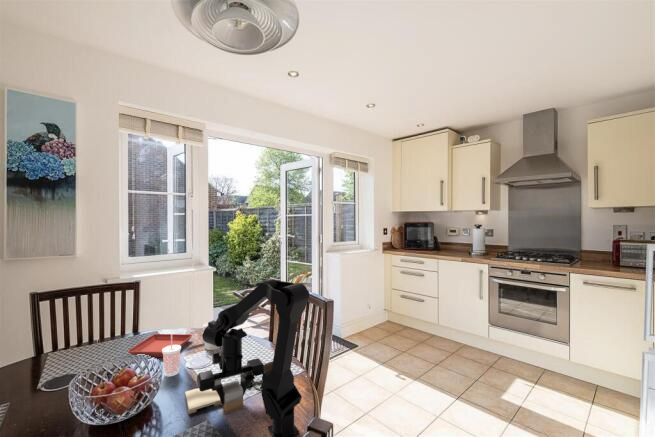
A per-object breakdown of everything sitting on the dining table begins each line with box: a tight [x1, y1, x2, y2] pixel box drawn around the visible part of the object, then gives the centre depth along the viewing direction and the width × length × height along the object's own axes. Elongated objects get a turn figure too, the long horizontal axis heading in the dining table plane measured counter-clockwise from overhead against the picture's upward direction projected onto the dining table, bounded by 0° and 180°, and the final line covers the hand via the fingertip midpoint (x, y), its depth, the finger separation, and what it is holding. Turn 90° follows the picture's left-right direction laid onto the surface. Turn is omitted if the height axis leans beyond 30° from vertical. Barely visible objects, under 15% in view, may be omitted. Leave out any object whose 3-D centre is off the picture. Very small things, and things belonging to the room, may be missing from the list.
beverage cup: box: [162, 333, 182, 377], centre depth 109 cm, size 6×6×14 cm
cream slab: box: [184, 387, 222, 415], centre depth 93 cm, size 10×9×2 cm
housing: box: [220, 379, 244, 415], centre depth 91 cm, size 6×5×6 cm
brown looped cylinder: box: [248, 360, 273, 387], centre depth 104 cm, size 7×13×10 cm
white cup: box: [202, 321, 221, 351], centre depth 131 cm, size 8×8×10 cm
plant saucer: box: [127, 333, 193, 358], centre depth 128 cm, size 18×18×3 cm
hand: (231, 401), depth 91 cm, fingers closed on housing, 5 cm apart
